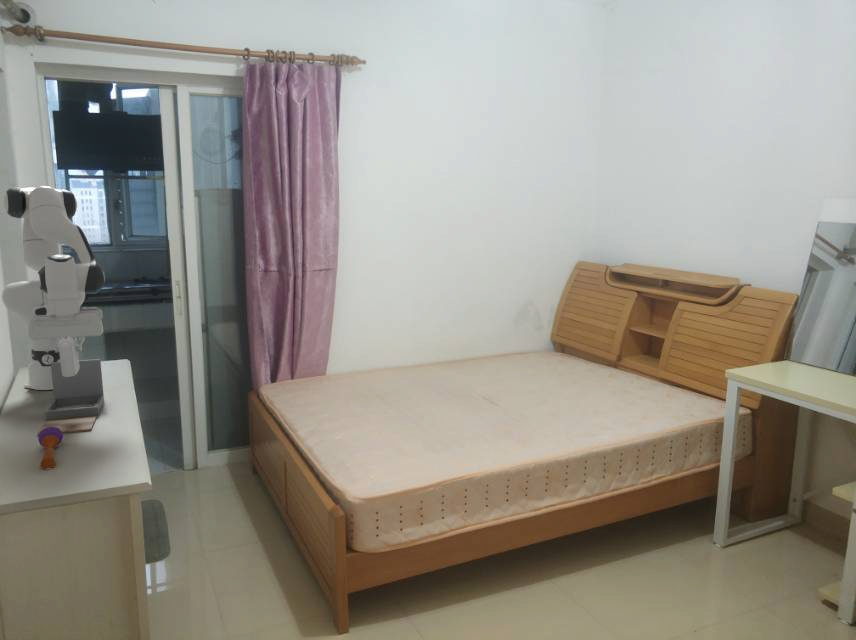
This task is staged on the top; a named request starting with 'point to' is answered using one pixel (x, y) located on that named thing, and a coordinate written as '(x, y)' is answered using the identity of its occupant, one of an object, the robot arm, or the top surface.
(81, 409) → the equipment case
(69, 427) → the walnut board
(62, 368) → the photo printer
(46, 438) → the maraca
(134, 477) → the top surface
